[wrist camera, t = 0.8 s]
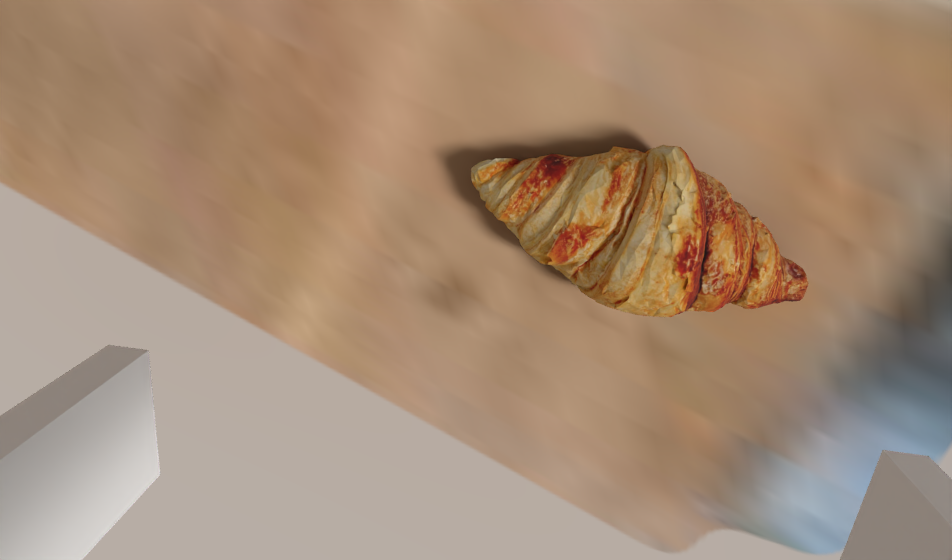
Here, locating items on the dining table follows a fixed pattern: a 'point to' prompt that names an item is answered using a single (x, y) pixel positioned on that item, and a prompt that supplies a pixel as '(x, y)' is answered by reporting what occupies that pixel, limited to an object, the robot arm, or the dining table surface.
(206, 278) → the dining table surface
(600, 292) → the croissant
